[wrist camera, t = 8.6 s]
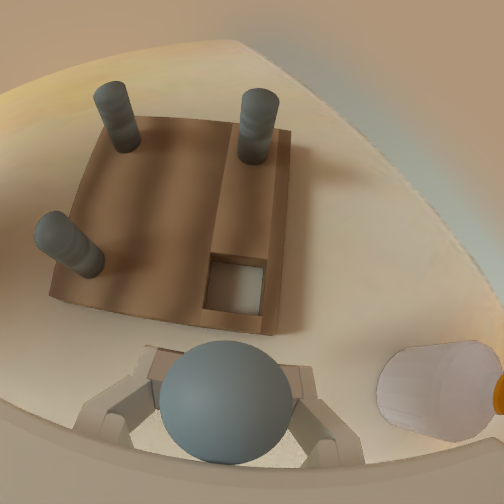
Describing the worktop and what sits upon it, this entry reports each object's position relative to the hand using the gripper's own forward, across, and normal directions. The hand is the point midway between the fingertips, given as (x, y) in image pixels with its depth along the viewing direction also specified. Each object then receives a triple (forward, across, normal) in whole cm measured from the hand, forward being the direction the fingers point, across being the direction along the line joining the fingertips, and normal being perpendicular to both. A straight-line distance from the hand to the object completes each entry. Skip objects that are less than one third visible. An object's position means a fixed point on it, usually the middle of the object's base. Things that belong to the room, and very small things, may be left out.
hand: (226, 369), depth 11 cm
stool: (+22, +7, +3) cm, 24 cm away
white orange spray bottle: (+11, -20, +14) cm, 27 cm away
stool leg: (+4, 0, +5) cm, 7 cm away
